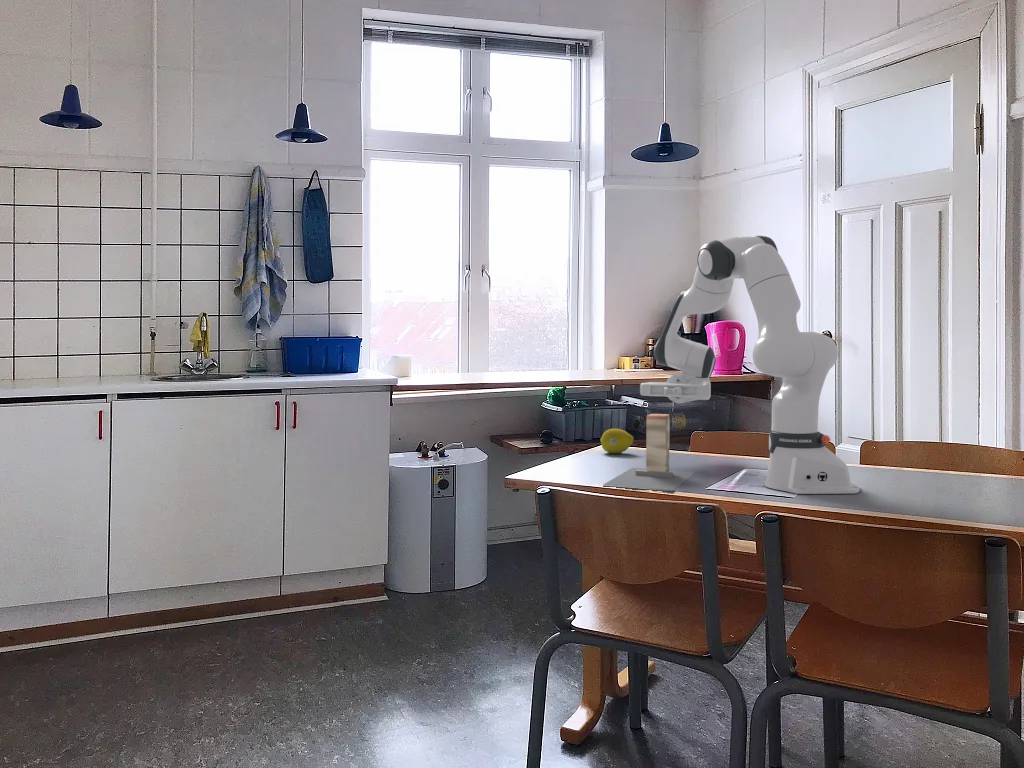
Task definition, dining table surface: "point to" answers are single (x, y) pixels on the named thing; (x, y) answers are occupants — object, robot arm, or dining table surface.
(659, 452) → the birch block
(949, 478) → the dining table surface
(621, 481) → the mat
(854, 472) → the dining table surface
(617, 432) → the lemon
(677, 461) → the dining table surface
